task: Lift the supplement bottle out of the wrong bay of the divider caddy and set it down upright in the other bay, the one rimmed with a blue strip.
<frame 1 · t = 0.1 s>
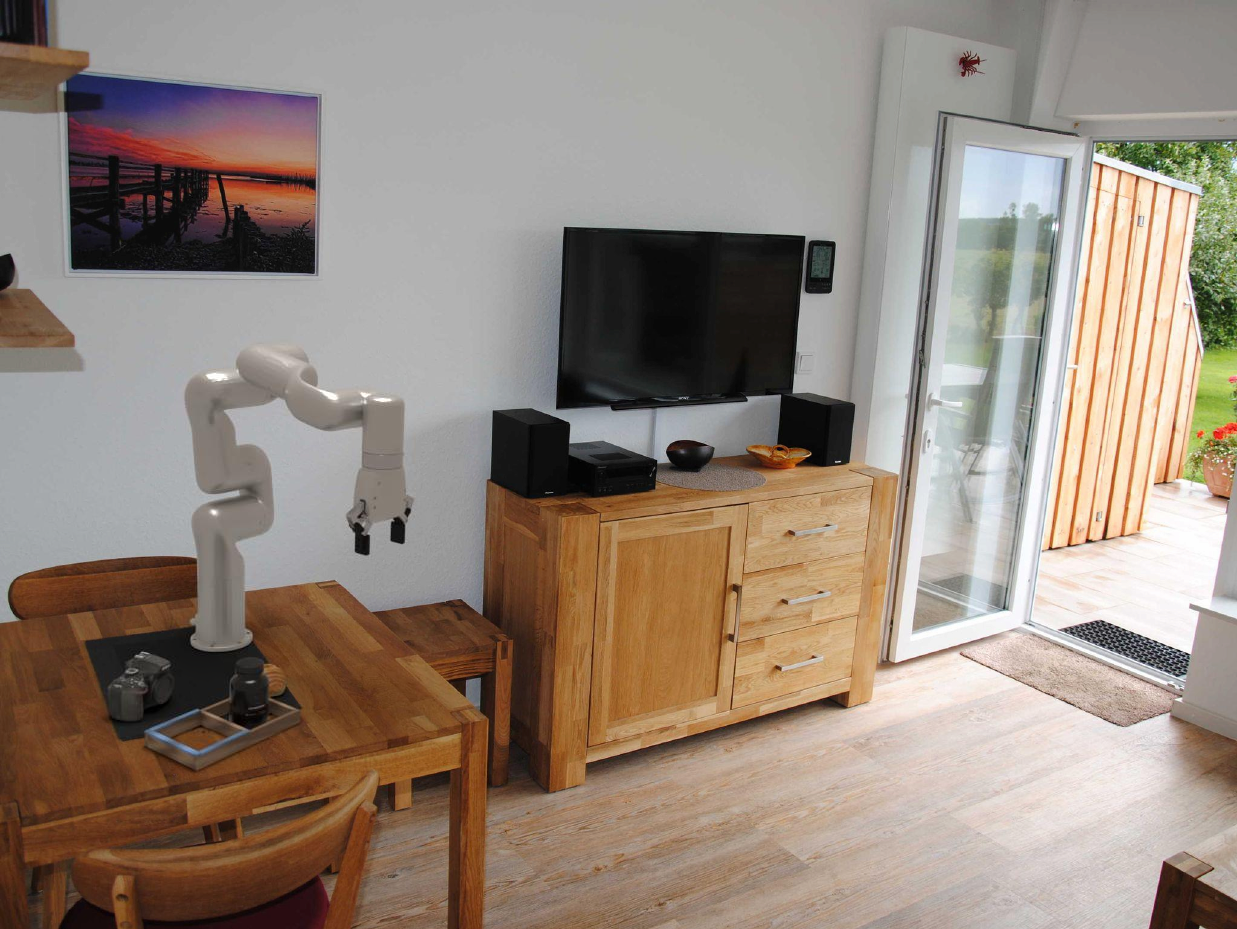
hand: (380, 548, 197), 31 cm above the table, tool pointing down, fingers open, 9 cm apart
caddy: (225, 733, 187), on the table
supplement bottle: (249, 724, 191), resting in caddy
camera: (143, 707, 195), on the table
pastry: (270, 688, 206), on the table
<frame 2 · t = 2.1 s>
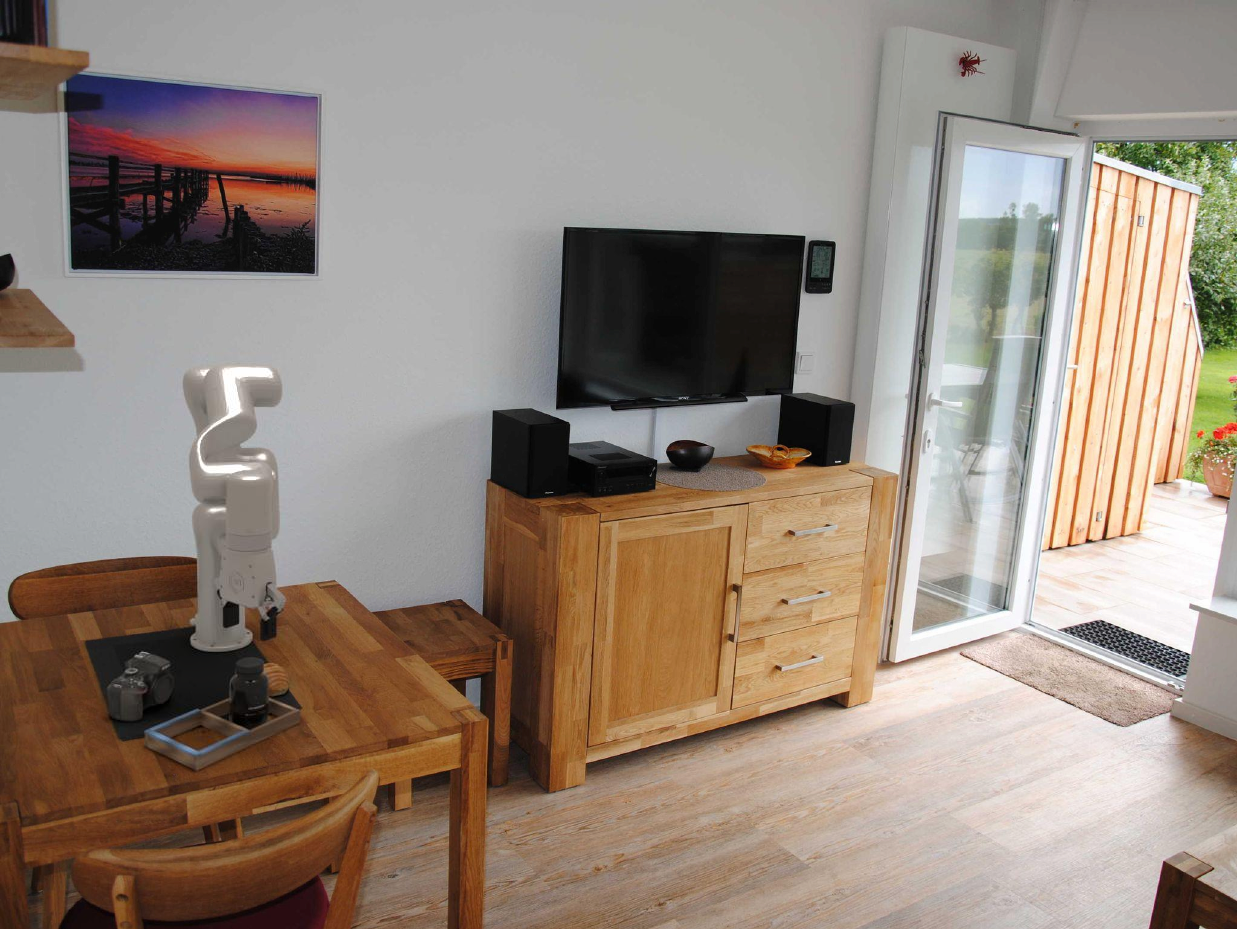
hand: (249, 632, 187), 18 cm above the table, tool pointing down, fingers open, 9 cm apart
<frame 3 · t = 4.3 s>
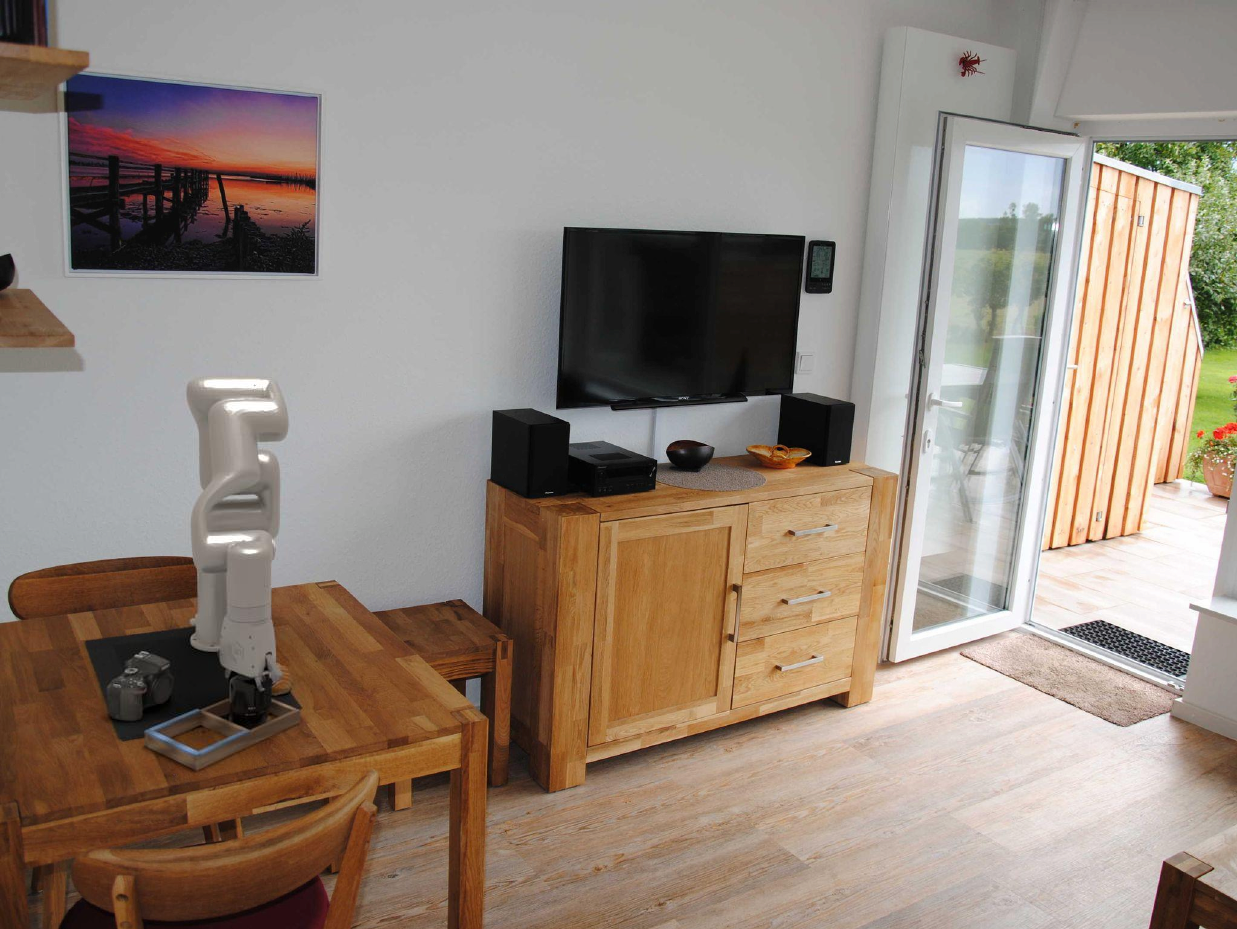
hand: (249, 701, 190), 4 cm above the table, tool pointing down, fingers closed on supplement bottle, 6 cm apart
supplement bottle: (249, 724, 191), resting in caddy, touching gripper
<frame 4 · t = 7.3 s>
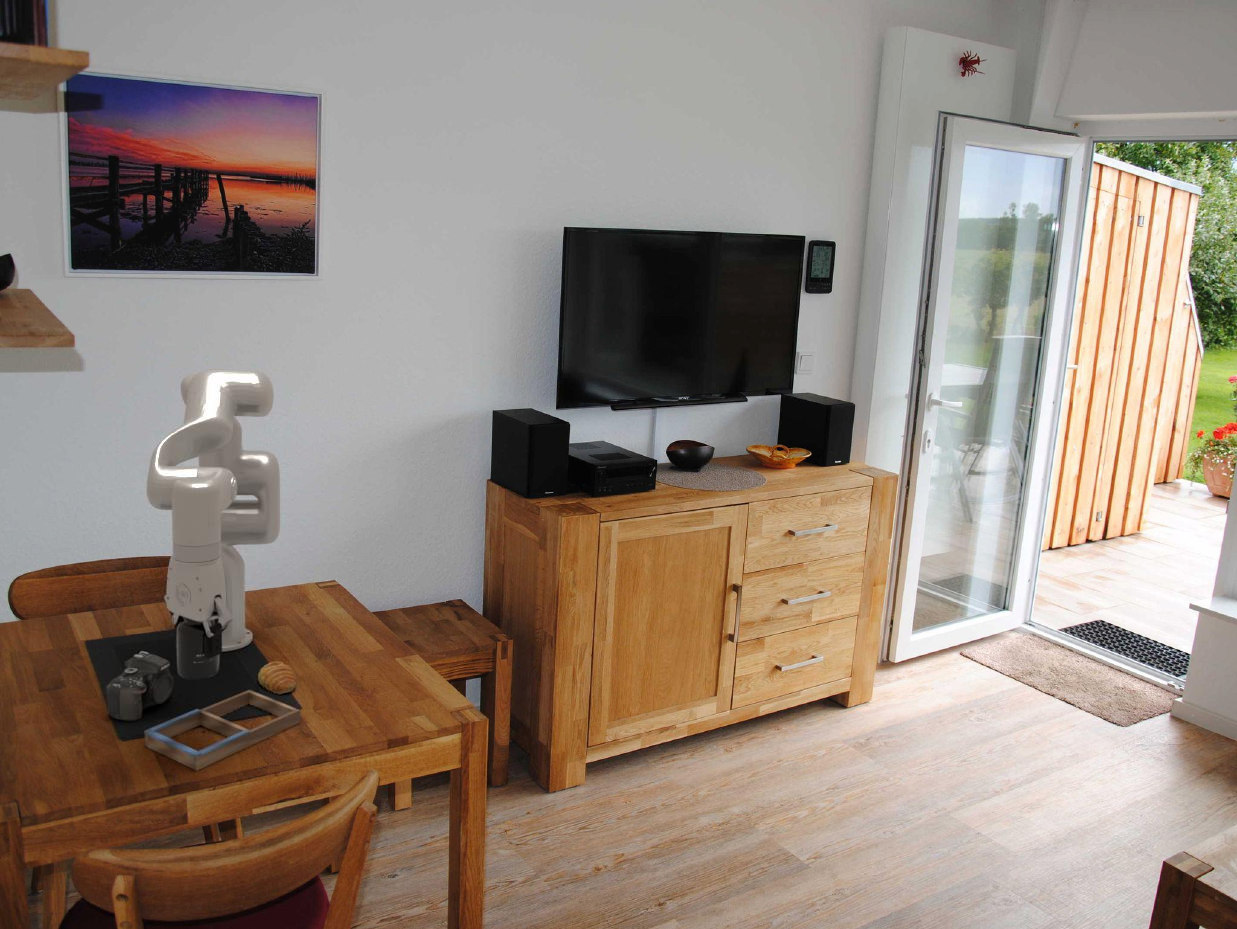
hand: (198, 649, 178), 18 cm above the table, tool pointing down, fingers closed on supplement bottle, 6 cm apart
supplement bottle: (198, 673, 179), point 14 cm above the table, touching gripper
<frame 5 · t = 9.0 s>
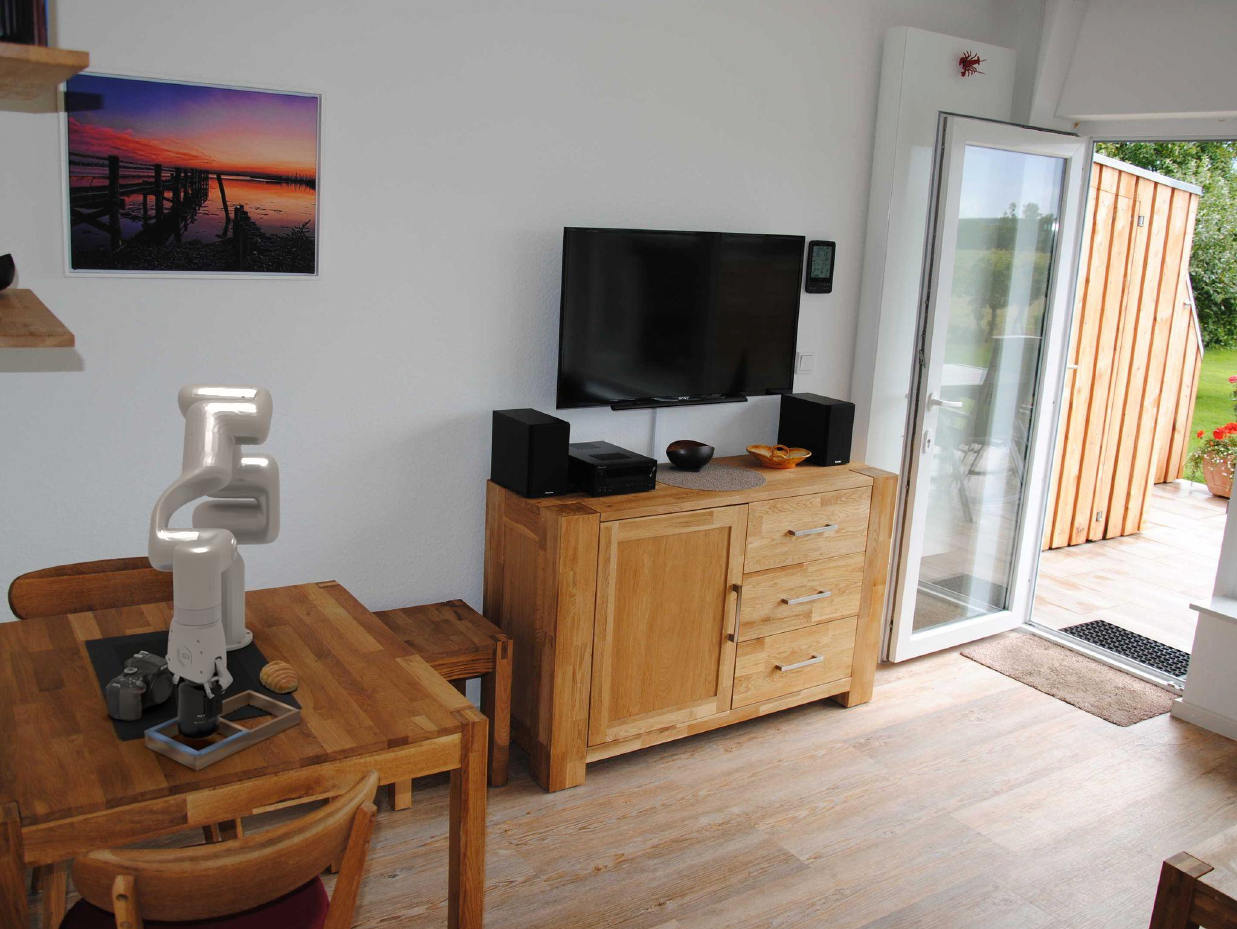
hand: (199, 708, 180), 7 cm above the table, tool pointing down, fingers closed on supplement bottle, 6 cm apart
supplement bottle: (199, 732, 181), point 2 cm above the table, touching gripper
when the fingers open (6 cm above the table, at t = 10.3 s): supplement bottle drops 1 cm, resting in caddy.
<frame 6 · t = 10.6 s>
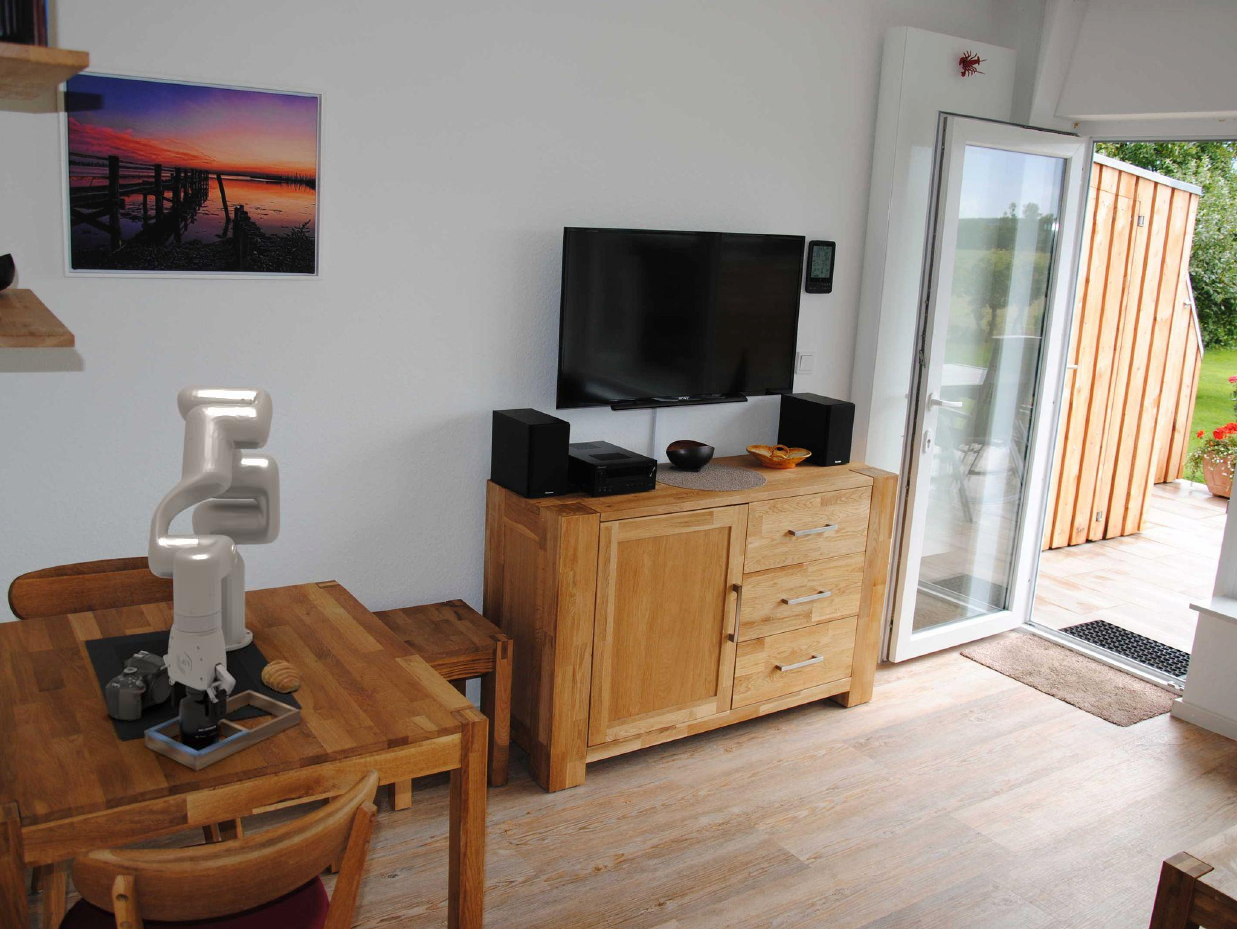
hand: (199, 712, 181), 6 cm above the table, tool pointing down, fingers open, 9 cm apart
supplement bottle: (200, 746, 182), resting in caddy
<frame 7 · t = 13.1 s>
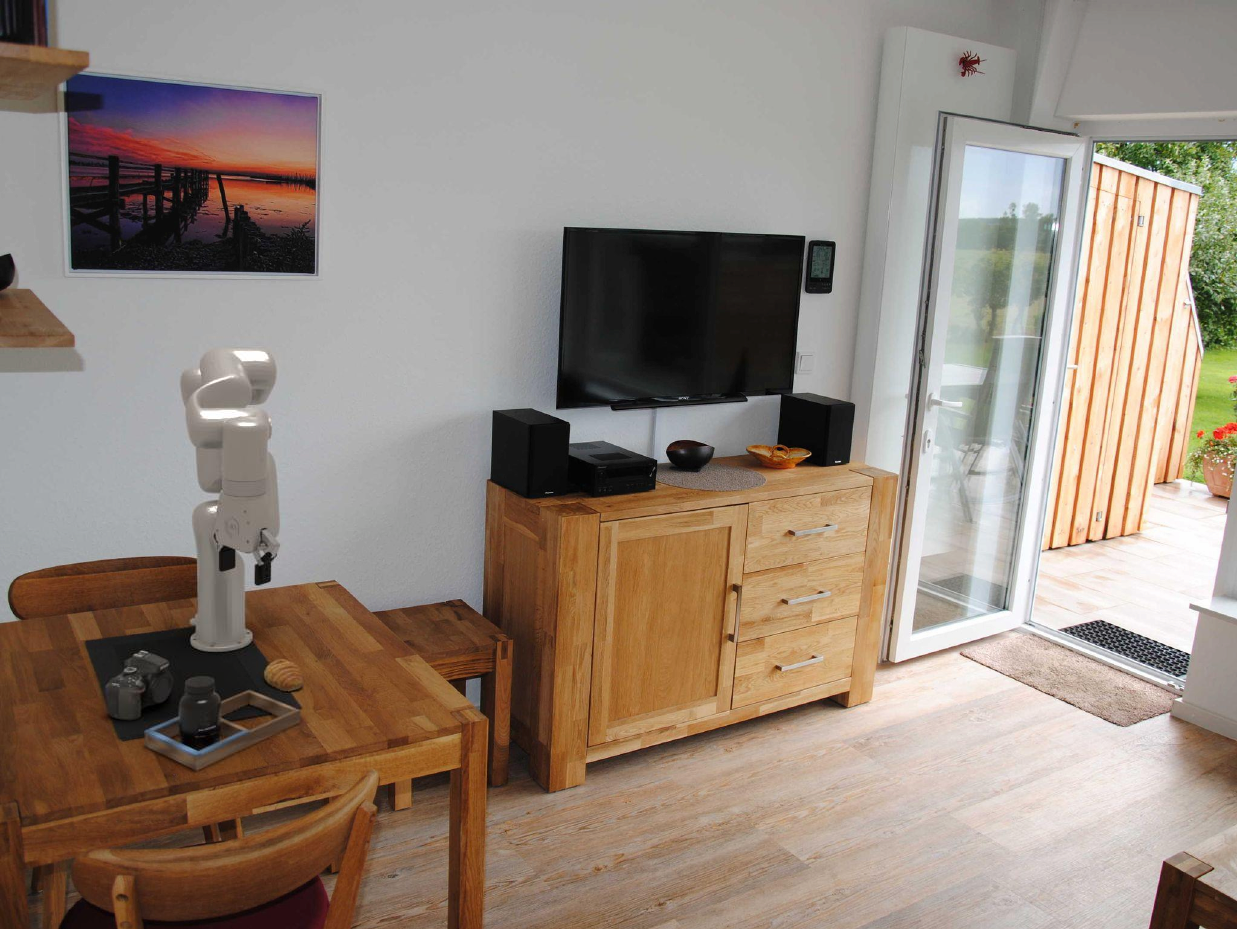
hand: (244, 576, 189), 27 cm above the table, tool pointing down, fingers open, 9 cm apart
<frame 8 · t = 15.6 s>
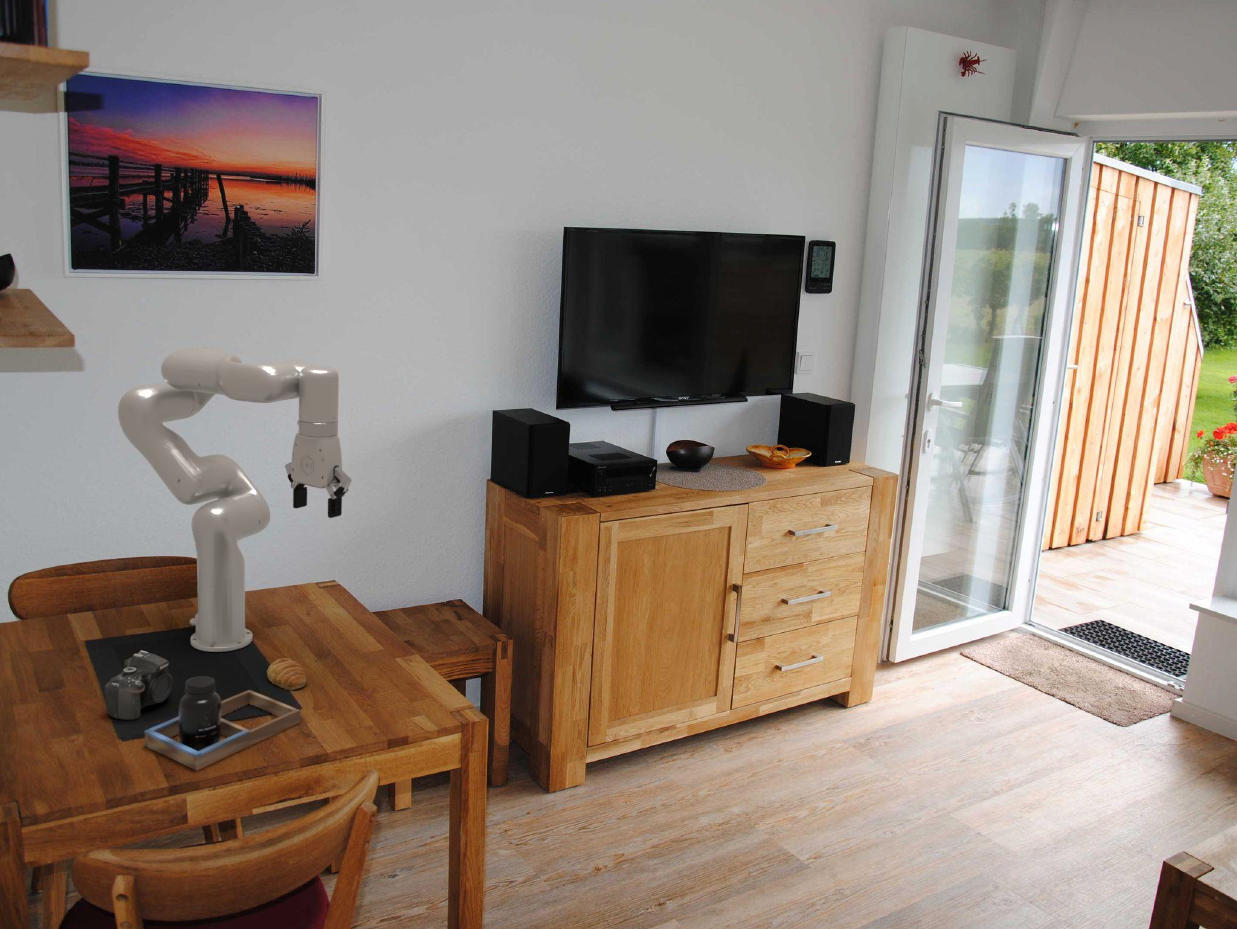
hand: (317, 511, 210), 33 cm above the table, tool pointing down, fingers open, 9 cm apart
at the end: supplement bottle inside the target area on the caddy (0.3 cm from its centre), point 0.0 cm above the caddy's base; supplement bottle tilted 0°; the gripper is holding nothing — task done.
